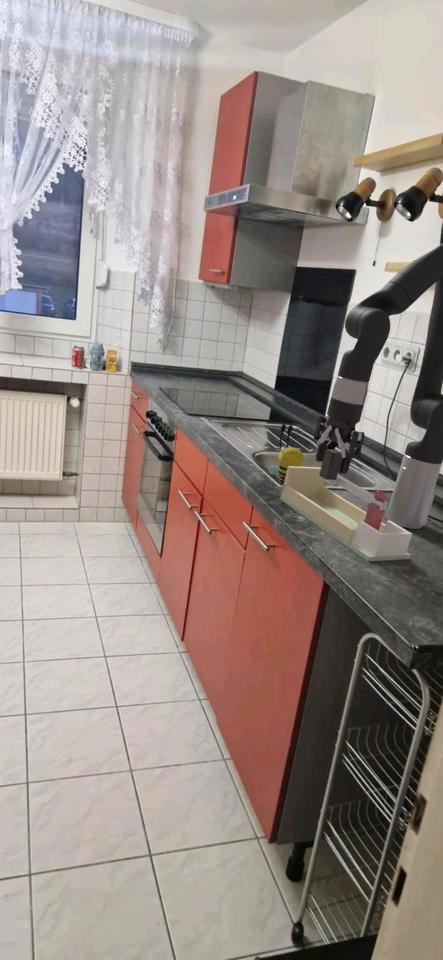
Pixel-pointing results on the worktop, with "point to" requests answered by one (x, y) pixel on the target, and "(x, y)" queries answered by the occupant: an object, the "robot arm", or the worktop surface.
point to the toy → (286, 457)
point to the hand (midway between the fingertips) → (330, 467)
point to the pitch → (342, 517)
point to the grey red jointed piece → (354, 488)
